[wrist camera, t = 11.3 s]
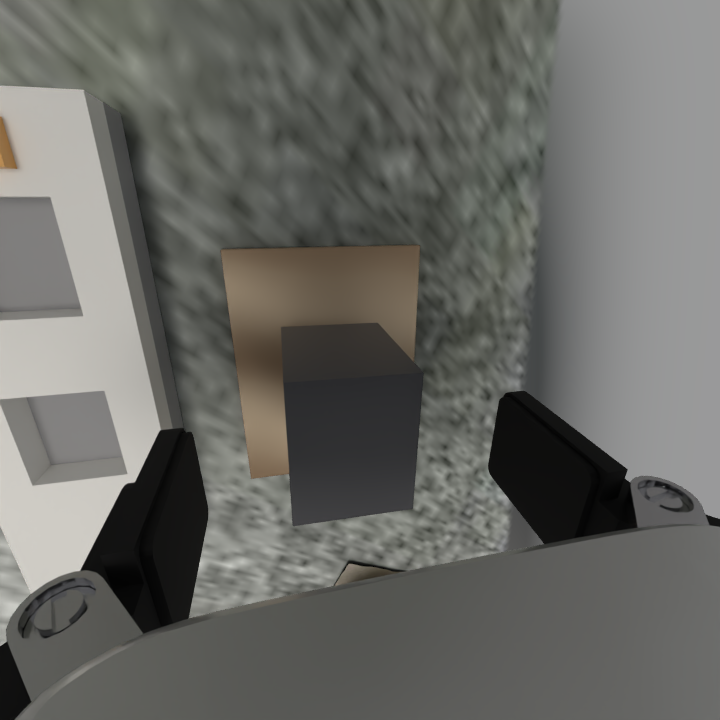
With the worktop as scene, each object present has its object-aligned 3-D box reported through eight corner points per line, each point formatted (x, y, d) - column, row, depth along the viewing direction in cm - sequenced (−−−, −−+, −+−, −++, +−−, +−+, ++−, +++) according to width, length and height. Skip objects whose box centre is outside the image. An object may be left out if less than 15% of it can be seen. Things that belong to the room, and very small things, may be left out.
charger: (280, 319, 18) (283, 382, 11) (371, 316, 19) (423, 372, 12) (287, 421, 20) (293, 525, 13) (369, 414, 21) (412, 508, 14)
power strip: (-104, 104, 13) (-233, 67, 10) (120, 113, 14) (73, 83, 11) (65, 544, 20) (24, 608, 17) (203, 523, 22) (190, 578, 18)
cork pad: (221, 248, 17) (220, 249, 16) (416, 244, 18) (420, 245, 18) (251, 473, 21) (251, 478, 21) (406, 452, 23) (409, 457, 22)
